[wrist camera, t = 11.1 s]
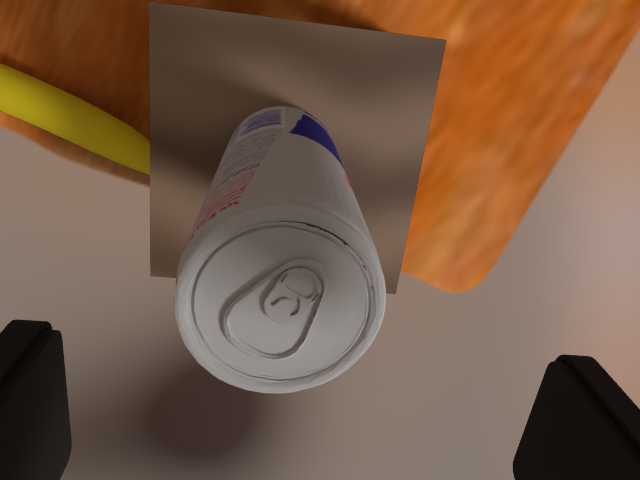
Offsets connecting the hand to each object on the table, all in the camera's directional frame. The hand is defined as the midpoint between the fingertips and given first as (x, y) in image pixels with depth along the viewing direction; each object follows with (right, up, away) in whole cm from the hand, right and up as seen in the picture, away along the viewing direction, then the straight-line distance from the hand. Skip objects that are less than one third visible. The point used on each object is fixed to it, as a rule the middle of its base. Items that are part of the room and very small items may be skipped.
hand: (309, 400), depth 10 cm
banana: (-17, +12, +25) cm, 32 cm away
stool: (-2, +11, +26) cm, 28 cm away
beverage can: (-2, +7, +17) cm, 19 cm away
